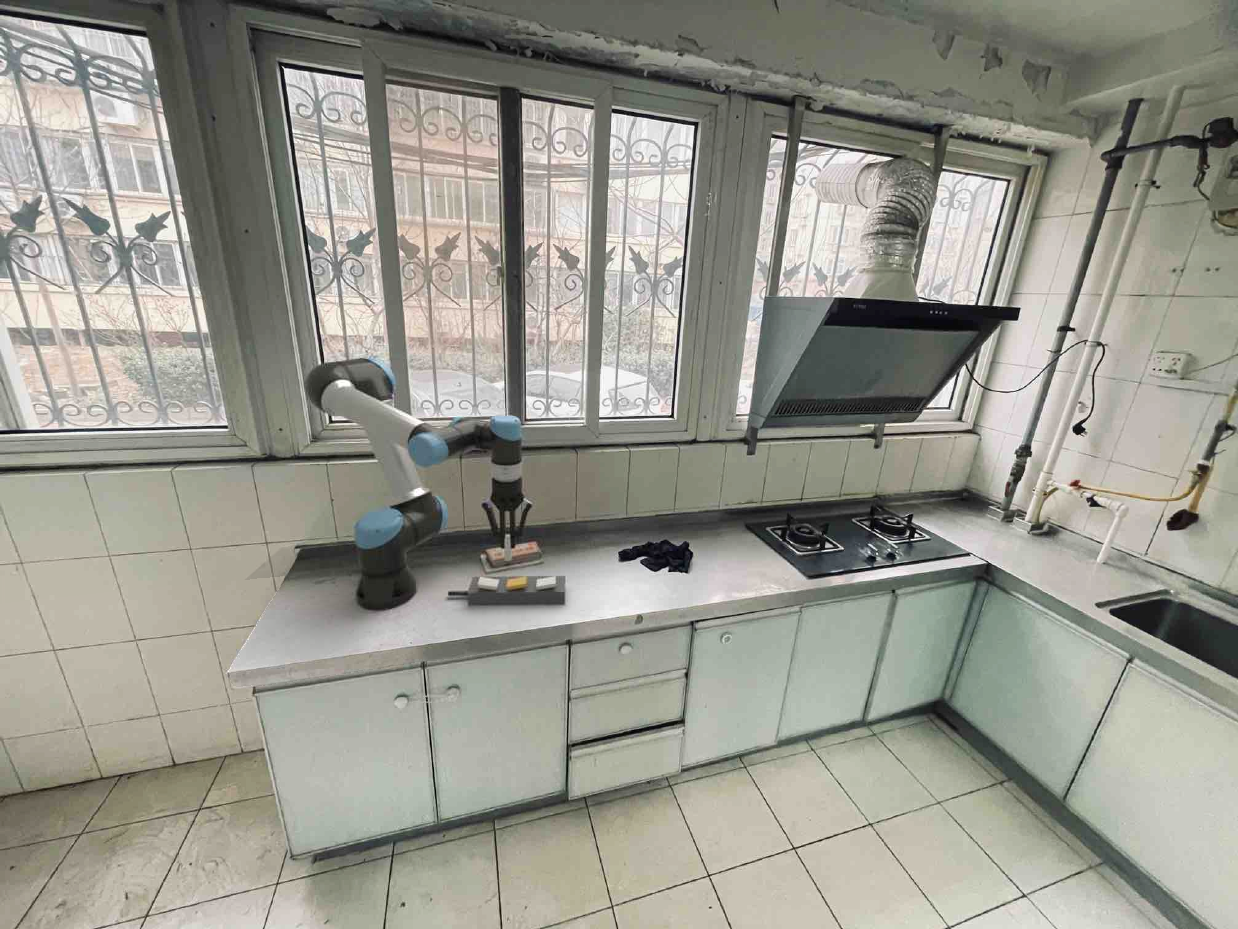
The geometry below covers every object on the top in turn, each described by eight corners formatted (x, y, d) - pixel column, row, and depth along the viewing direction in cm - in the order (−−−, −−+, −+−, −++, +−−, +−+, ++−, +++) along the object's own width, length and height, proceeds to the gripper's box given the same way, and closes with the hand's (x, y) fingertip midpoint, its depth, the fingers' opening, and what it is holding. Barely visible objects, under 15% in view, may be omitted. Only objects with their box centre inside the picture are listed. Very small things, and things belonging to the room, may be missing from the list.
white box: (477, 587, 132) (477, 584, 131) (479, 579, 135) (480, 576, 135) (496, 590, 132) (497, 587, 132) (498, 582, 136) (499, 579, 135)
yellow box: (507, 590, 133) (506, 587, 132) (508, 582, 136) (507, 579, 136) (526, 586, 133) (525, 583, 133) (527, 579, 136) (526, 576, 136)
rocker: (536, 589, 133) (536, 586, 133) (537, 582, 137) (537, 579, 137) (555, 586, 134) (555, 583, 133) (556, 579, 137) (555, 576, 137)
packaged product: (535, 537, 162) (543, 551, 153) (535, 549, 163) (543, 564, 155) (479, 546, 154) (485, 561, 146) (480, 559, 156) (486, 575, 148)
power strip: (445, 606, 132) (444, 592, 130) (452, 589, 139) (451, 576, 138) (564, 604, 135) (564, 591, 134) (565, 587, 143) (565, 575, 141)
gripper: (477, 481, 120) (481, 565, 127) (531, 482, 121) (531, 565, 129) (483, 470, 127) (485, 551, 134) (534, 472, 128) (533, 551, 136)
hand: (508, 558), depth 132 cm, fingers closed
